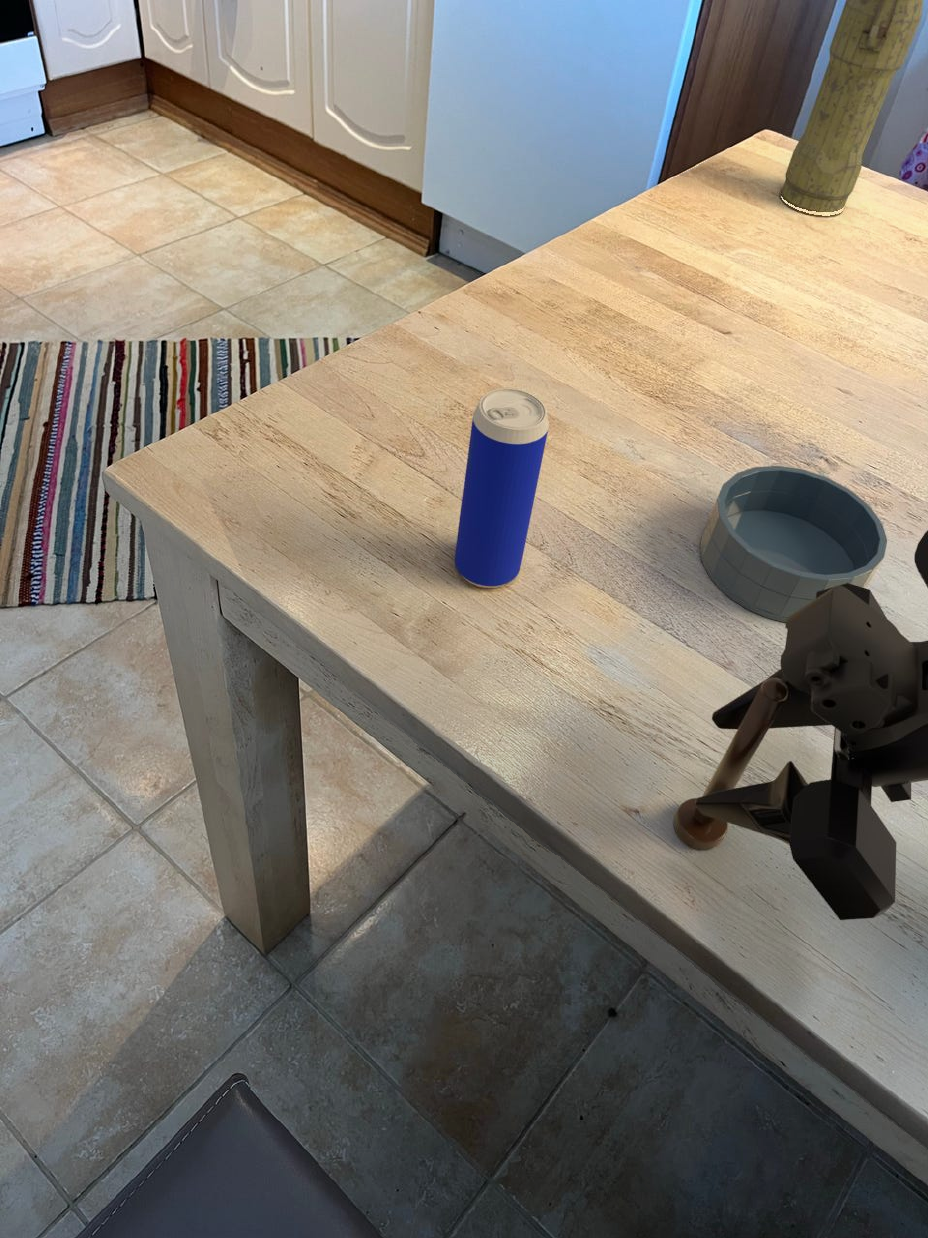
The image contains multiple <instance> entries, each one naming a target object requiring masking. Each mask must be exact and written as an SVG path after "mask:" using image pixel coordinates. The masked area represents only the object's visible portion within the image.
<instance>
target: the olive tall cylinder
mask: <svg viewBox="0 0 928 1238" xmlns="http://www.w3.org/2000/svg"><path fill="white" fill-rule="evenodd" d="M923 4H924V0H845V2H844V5H843V8H842V11H841V13H840V14H841V15H840V17H839V20H838V22H837V25H836V29H835V31H834V33H833V34H834V35H833V37H832V39H831V43H830V45H829V60H828V63H827V66H826V69H825V72H824V75H823V77H822V81H821V83H820V87H819V89H818V92H817V95H816V98H815V101H814V103H813V107H812V110H811V112H810V115H809V117H808V121H807V124H806V127H805V130H804V131H803V135H802V136H801V137H800V139H799V140H798V142H797V144H796V146H795V148H794V149H793V151H792V154H791V157H790V160H789V163H788V166H787V169H786V171H785V175H784V176H785V177H784V178H785V180H784V182H783V186H782V188H781V190H780V192H781V196H782V197H783V199H784V200H786V201H787V202H788V203H790V204H792V205H794V206H795V207H799V208H802V209H806V210H808V211H816V212H834V211H838V210H840V209H842V208H843V207H844V206H845V207H846V203H847V201H848V198H849V196H851V194H852V193H853V191H854V188H855V186H856V183H857V181H858V178H859V176H860V174H861V171H862V166H863V165H862V164H863V154H864V151H865V149H866V147H867V144H868V142H869V139H870V136H871V134H872V132H873V129H874V127H875V125H876V122H877V119H878V116H879V114H880V112H881V109H882V107H883V104H884V101H885V99H886V97H887V94H888V91H889V89H890V86H891V84H892V81H893V78H894V76H895V74H896V73H897V72H898V71H899V70H900V68H902V66H903V65H904V61H905V60H906V57H907V54H908V53H909V49H910V47H911V44H912V42H913V39H914V37H915V34H916V32H917V29H918V27H919V24H920V22H921V20H922V14H923ZM779 200H780V201H781V202H782V204H784V205H785V206H786V207H788V208H790V209H792V210H794V211H795V212H797V213H800V214H804V215H806V216H812V217H817V218H833V217H837V216H840V215H842V213H843V212H844V210H843V211H842V212H841V213H839V214H837V215H830V216H822V215H814V214H809V213H806V212H803V211H799V210H797V209H795V208H793V207H791V206H789V205H788V204H786V203H785V202H784V201H783V200H782V198H781V197H780V196H779Z"/></svg>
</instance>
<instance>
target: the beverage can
mask: <svg viewBox="0 0 928 1238" xmlns="http://www.w3.org/2000/svg"><path fill="white" fill-rule="evenodd" d="M549 429H550V423H549V417H548V411H547V408H546V406H545V404H544V402H543V401H542V400H541V399H540V398H538V396H535V395H534V394H532V393H530V392H527V391H524V390H522V389H517V388H507V387H506V388H497V389H493V390H490V391H488V392H486V393H484V394H483V396H482V397H481V398H480V399H479V401H478V403H477V405H476V406H475V409H474V411H473V414H472V420H471V428H470V435H469V444H468V450H467V451H468V452H467V458H466V459H467V460H466V465H465V466H466V467H465V474H464V482H463V489H462V490H463V491H462V498H461V505H460V514H459V520H458V521H459V522H458V529H457V538H456V544H455V552H454V559H453V560H454V561H453V562H454V565H455V569H456V571H457V572H458V573H459V574H460V576H461V577H462V578H463V579H464V580H465V581H467V582H468V583H469V584H471V585H473V586H475V587H478V588H483V589H497V588H500V587H503V586H505V585H507V584H509V583H510V582H512V581H514V580H515V579H516V578H517V577H518V575H519V573H520V571H521V567H522V562H523V556H524V552H525V547H526V542H527V537H528V533H529V527H530V522H531V517H532V513H533V507H534V503H535V497H536V494H537V493H536V492H537V488H538V483H539V477H540V473H541V468H542V464H543V463H542V462H543V458H544V453H545V449H546V444H547V439H548V433H549Z"/></svg>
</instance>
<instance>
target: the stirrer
mask: <svg viewBox="0 0 928 1238" xmlns="http://www.w3.org/2000/svg"><path fill="white" fill-rule="evenodd" d="M768 678H769V677H768ZM766 679H767V678H766ZM766 679H765V680H766ZM763 681H764V680H763ZM763 681H762V682H763ZM787 696H788V687H787V685H786V683H785V682H784V681H783V680H781V679H779V678H769V679H767V680H766V681H764V682H763V684H762V685H761V687H760V689H759V691H758V693H757V695H756V696H755V698H754V700H753V702H752V704H751V706H750V708H749V710H748V711H747V713H746V715H745V717H744V719H743V721H742V723H741V724H740V726H739V728H738V730H737V729H736V732H735V734H734V735H733V738H732V739H731V741H730V743H729V745H728V747H727V749H726V751H725V753H724V754H723V756H722V758H721V760H720V762H719V764H718V766H717V768H716V770H715V772H714V773H713V775H712V776H711V779H710V781H709V783H708V784H707V786H706V788H705V790H704V791H703V793H702V796H705V795H708V794H711V793H715V792H719V791H724V790H729V789H734V788H737V785H738V783H739V781H740V779H741V778H742V776H743V774H744V772H745V771H746V770H747V767H748V766H749V764H750V763H751V760H752V759H753V757H754V755H755V754H756V752H757V750H758V748H759V746H760V745H761V743H762V742H763V740H764V738H765V736H766V735H767V733H768V731H769V729H770V728H769V727H770V726H771V724H772V722H773V720H774V719H775V717H776V715H777V714H778V712H779V710H780V708H781V707H782V705H783V703H784V701H785V700H786V698H787ZM697 798H698V797H694V798H693V797H692V798H689V799H686V800H685V801H684V802H682V803H681V804H680V805H679V807H678V809H677V811H676V813H675V815H674V817H673V826H674V827H673V828H674V830H675V833H676V835H677V837H678V838H679V839H680V840H681V841H682V842H683V843H684V844H686V845H687V846H689V847H690V848H693V849H695V850H701V851H708V850H712V849H714V848H716V847H718V846H719V845H720V844H721V842H723V839H724V838H725V836H726V834H727V832H728V827H729V825H728V824H729V823H727V822H724V821H721V820H718V819H715V818H712V817H708V816H705V815H703V814H702V813H701V812H700V811H699V810H698V808H697V807H696V806H695V801H696V799H697Z"/></svg>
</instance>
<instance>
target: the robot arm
mask: <svg viewBox="0 0 928 1238" xmlns="http://www.w3.org/2000/svg"><path fill="white" fill-rule="evenodd" d="M914 564H915V567H916V569H917V572H918V573H919V575H920V577H921V579H922V580H923V583H924V584H925V586H926V588H927V589H928V529H927V530H926V531H925V532H924V533H923V535H922V537H921V538H920V539H919V541H918V543H917V545H916V549H915V552H914ZM784 627H785V629H786V638H785V645H784V649H783V652H782V653H781V655H780V669H778V670H777V671H776V672H774V673H773V674H771V675H770V676H769V677H767V678H766V679H764V680H763V681H761V682H759V683H758V684H756V685H755V686H753V687H751V688H749V689H748V690H747V691H745V692H743V693H742V694H740V695H739V696H737V697H735V698H734V699H732V700H731V701H730V702H728V703H726V704H724V705H723V706H722V707H720V708H718V709H716V710H715V711H714V712H712V715H711V720H712V722H713V724H714V725H715V726H716V727H717V728H718V729H721V730H736V731H737V730H738V728H739V726H740V724H741V723H742V721H743V719H744V717H745V715H746V713H747V711H748V710H749V708H750V706H751V704H752V702H753V700H754V698H755V696H756V695H757V693H758V691H759V689H760V687H761V685H762V684H763V682H764V681H766V680H767V679H769V678H779V679H781V680H783V681H784V682H785V683H786V685H787V687H788V696H787V698H786V700H785V701H784V703H783V705H782V707H781V708H780V710H779V712H778V714H777V715H776V717H775V719H774V720H773V722H772V724H771V726H770V727H769V729H785V728H786V729H787V728H806V727H825V726H826V727H827V726H831V727H833V728H834V733H833V743H832V744H833V747H832V758H831V769H830V770H831V771H830V779H824V780H817V781H811V782H807V780H806V779H805V778H804V776H803V775H802V773H801V772H800V771H799V769H798V768H797V766H796V765H795V764H794V762H793V761H792V760H789V761H788V762H786V764H785V765H784V766H783V768H782V770H781V771H780V772H779V774H778V775H777V777H776V778H775V779H774V780H771V781H766V782H762V783H756V784H750V785H745V786H740V787H735V788H734V789H729V790H724V791H719V792H715V793H711V794H708V795H705V796H703V795H702V796H699V797H696V798H697V799H696V801H695V806H696V807H697V808H698V810H699V811H700V812H701V813H702V814H703V815H705V816H708V817H712V818H715V819H718V820H721V821H724V822H727V823H728V824H731V825H734V826H736V827H739V828H743V829H746V830H749V831H753V832H756V833H759V834H762V835H765V836H768V837H770V838H774V839H776V840H780V841H782V842H783V843H786V844H788V845H789V850H790V853H791V856H792V860H793V861H794V863H795V864H796V865H797V867H798V868H799V869H800V870H801V872H802V873H803V874H804V876H805V877H806V878H807V880H808V881H809V882H810V883H811V884H812V886H813V887H814V888H815V890H816V891H817V892H818V893H819V895H820V896H821V897H822V899H823V900H824V902H825V903H826V904H827V905H828V907H829V908H830V909H831V910H832V912H833V913H834V914H835V916H836V917H837V918H838V919H839V921H847V920H863V919H874V918H877V917H879V916H881V915H884V914H885V912H887V911H888V910H889V909H890V908H891V906H893V904H895V903H896V882H897V880H896V878H897V877H896V875H897V841H896V839H895V838H894V836H893V835H892V833H891V832H890V830H888V828H887V826H886V825H885V824H884V822H883V821H882V819H881V818H880V816H879V815H878V814H877V812H876V811H875V809H874V807H873V806H872V796H873V795H872V794H873V793H872V792H873V791H872V790H873V788H879V787H880V788H881V790H882V791H883V792H884V794H885V795H886V797H887V798H888V800H889V802H890V803H897V802H903V801H910V800H911V801H912V783H917V782H926V781H928V640H924V641H910V640H908V638H906V637H905V636H904V635H903V634H901V632H900V630H899V629H898V628H897V627H896V625H895V624H894V623H892V621H890V620H889V619H888V618H887V616H886V614H885V612H884V611H883V609H882V608H881V606H880V604H879V602H878V601H877V599H876V597H875V596H874V594H873V592H872V590H871V589H869V588H867V587H866V588H862V587H859V586H856V585H852V584H849V583H846V584H842V585H839V586H835V587H832V588H828V589H825V590H822V591H818V592H817V593H816V599H815V600H813V601H812V602H810V603H809V604H807V605H806V606H804V607H803V608H801V609H799V610H798V611H796V612H795V613H793V614H792V615H790V616H789V617H788V618H787V620H786V623H785V625H784Z"/></svg>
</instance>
